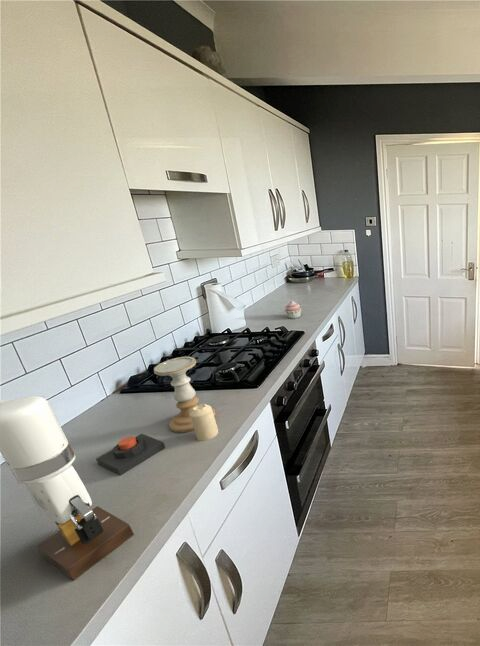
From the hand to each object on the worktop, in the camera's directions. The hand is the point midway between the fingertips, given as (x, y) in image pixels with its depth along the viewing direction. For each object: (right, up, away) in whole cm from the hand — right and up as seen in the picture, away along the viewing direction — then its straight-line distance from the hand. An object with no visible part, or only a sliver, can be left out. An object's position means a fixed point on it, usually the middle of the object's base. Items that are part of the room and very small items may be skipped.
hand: (81, 529), depth 70 cm
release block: (-12, +5, +26) cm, 29 cm away
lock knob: (0, -1, +1) cm, 1 cm away
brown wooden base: (0, -4, +2) cm, 4 cm away
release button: (-12, +8, +24) cm, 28 cm away
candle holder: (-5, +10, +40) cm, 42 cm away
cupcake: (-8, +45, +130) cm, 138 cm away
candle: (+4, +8, +34) cm, 35 cm away
